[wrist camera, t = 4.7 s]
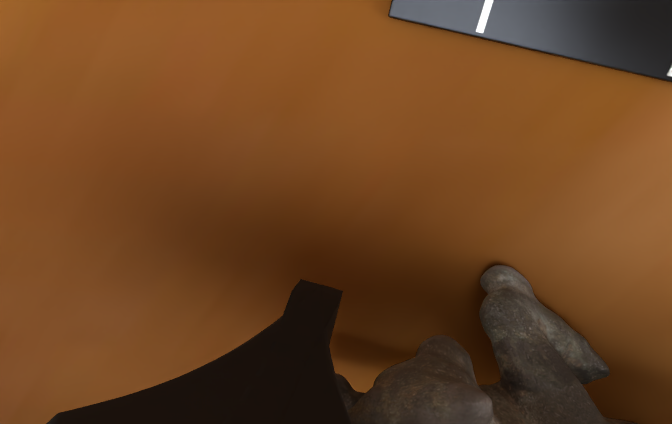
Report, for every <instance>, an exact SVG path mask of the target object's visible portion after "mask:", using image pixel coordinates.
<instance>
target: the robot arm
mask: <svg viewBox="0 0 672 424" xmlns="http://www.w3.org/2000/svg"><path fill="white" fill-rule="evenodd" d="M342 293H343V291H342V290H338V289H335V288H331V287H327V286H324V285H320V284H317V283H313V282H310V281H306V280H302V279H300V281H299V282H298V283H297V284H296V286H295V287H294V289H293V290H292V292H291V295H290V297H289V300H288V303H287V305H286V308H285V311H284V314H283V316H282V317H280V318H279V319H278V320H277V321H275V322H274V323H273V324H271V325H270V326H269V327H267V328H266V329H264V330H263V331H261V332H260V333H259V334H257V335H256V336H254V337H253V338H251V339H250V340H248V341H247V342H245V343H244V344H242V345H240V346H239V347H237V348H236V349H234V350H232V351H230V352H229V353H227V354H225V355H223V356H221V357H220V358H218V359H216V360H214V361H212V362H210V363H208V364H206V365H204V366H202V367H200V368H197V369H195V370H193V371H191V372H189V373H187V374H184V375H182V376H180V377H178V378H175V379H173V380H170V381H167V382H164V383H162V384H159V385H156V386H154V387H151V388H148V389H145V390H142V391H139V392H136V393H133V394H129V395H126V396H123V397H120V398H116V399H112V400H108V401H105V402H101V403H97V404H93V405H89V406H85V407H82V408H78V409H74V410H70V411H65V412H61V413H58V414H56V415H55V416H54V417H53V418H52V419H51V420H50V421H49V422H48V423H46V424H352V421H351V419H350V416H349V414H348V411H347V408H346V406H345V403H344V400H343V397H342V394H341V391H340V388H339V385H338V382H337V378H336V375H335V371H334V367H333V362H332V358H331V353H330V348H329V344H330V340H331V336H332V332H333V328H334V324H335V320H336V316H337V312H338V308H339V304H340V301H341V297H342Z"/></svg>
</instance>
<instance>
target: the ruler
mask: <svg viewBox="0 0 672 424" xmlns="http://www.w3.org/2000/svg"><path fill="white" fill-rule="evenodd" d="M388 16H389V17H390V18H394V19H398V20H402V21H407V22H411V23H415V24H420V25H424V26H428V27H433V28H437V29H441V30H446V31H450V32H454V33H459V34H463V35H468V36H472V37H476V38H481V39H485V40H489V41H494V42H498V43H502V44H507V45H511V46H515V47H520V48H524V49H528V50H533V51H537V52H541V53H546V54H550V55H554V56H559V57H563V58H567V59H572V60H576V61H580V62H585V63H589V64H594V65H598V66H602V67H607V68H611V69H615V70H620V71H624V72H628V73H633V74H637V75H641V76H646V77H650V78H654V79H659V80H663V81H667V82H672V0H392V2H391V6H390V10H389V14H388Z"/></svg>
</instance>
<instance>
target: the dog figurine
mask: <svg viewBox="0 0 672 424" xmlns="http://www.w3.org/2000/svg"><path fill="white" fill-rule="evenodd" d="M480 283H481V286H482V288H483V289H484V290H485V291H486V292H487V293H488V295H487V296H486V297H485V299H484V300H483V303H482V306H481V308H480V312H479V316H480V320H481V323H482V326H483V328H484V331H485V332H486V334H487V335H488V337H489V338H490V340H491V342H492V347H493V352H494V355H495V358H496V361H497V363H498V366H499V371H500V377H501V380H500V381H499V382H497V383H495V384H492V385H479V386H478V384H477V382H476V378H475V375H474V371H473V365H472V361H471V358H470V356H469V354H468V353H467V352H466V350H465V349H464V348H463V347H462V346H461V345H460V344H459V343H458V342H457V341H455V340H454V339H453V338H451V337H449V336H446V335H435V336H432V337H430V338H428V339H427V340H425V341H423V342H422V343H421V345H420V346H419V348H418V350H417V353H416V356H415V358H412V359H409V360H407V361H405V362H402V363H399V364H396V365H393V366H391V367H389V368H388V369H386V370H384V371H383V372H382V373H381V374H379V375H378V377H377V378H376V379H375V382H374V385H373V387H372V388H371V389H370V390H369V391H368V392H367V393H362V392H357V391H355V390H354V389H353V388H352V387H351V386H350V384H349V382H348V381H347V380H346V379H345V378H344V377H343V376H341V375H339V374H336V373H335V375H336V378H337V382H338V385H339V388H340V391H341V394H342V397H343V400H344V403H345V406H346V408H347V411H348V414H349V416H350V419H351V421H352V424H638V423H634V422H628V421H623V420H617V419H612V418H606V417H603V416H602V414H601V413H600V412H599V410H598V409H597V407H596V405H595V404H594V402H593V401H592V399H591V398H590V396H589V394H588V393H587V391H586V390H585V388H584V387H583V385H582V384H587V383H590V382H592V381H593V380H597V379H601V378H605V377H608V376H609V375H610V371H609V368H608V366H607V365H606V363H605V362H604V361H603V360H602V358H601V357H600V356H599V355H598V354H597V353H596V352H595V351H594V350H593V349H592V348H591V347H590V345H589V343H588V342H587V340H586V339H585V338H584V337H583V336H581V335H580V334H579V333H577V332H576V331H574V330H573V329H572V328H571V327H569V326H568V325H567V324H566V323H565V321H564V320H563V319H562V318H560V317H559V316H558V315H557V314H556V313H554V312H552V311H551V310H549V309H547V308H546V307H545V306H544V305H542V304H541V303H540V302H539V301H538V300H537V299H536V297H535V296H534V293H533V290H532V287H531V285H530V283H529V282H528V281H527V280H526V279H525V278H524V277H523V276H522V275H521V274H520V273H519V272H517V271H516V270H515V269H513V268H511V267H509V266H504V265H496V266H493V267H491V268H490V269H488V270H487V271H486V272H485V273H484V274H483V275H482V277H481V279H480Z"/></svg>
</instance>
